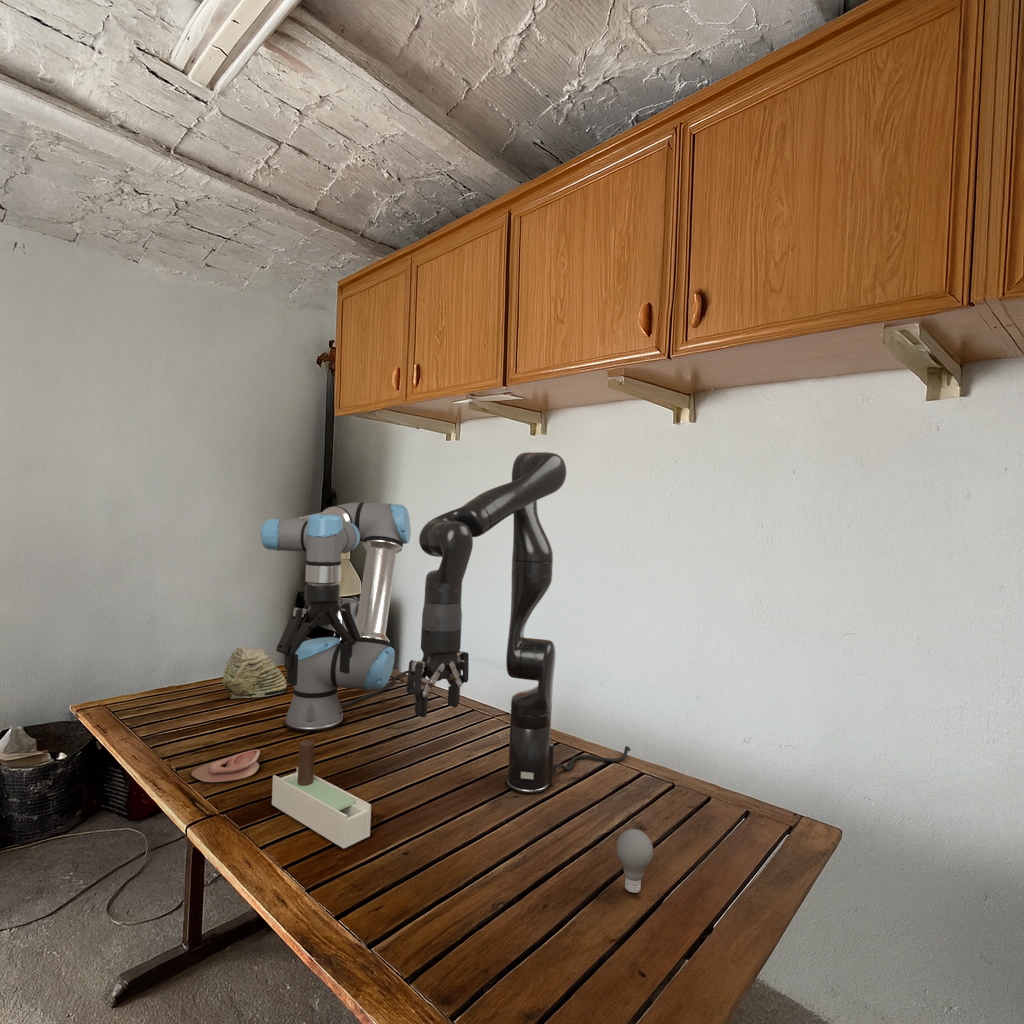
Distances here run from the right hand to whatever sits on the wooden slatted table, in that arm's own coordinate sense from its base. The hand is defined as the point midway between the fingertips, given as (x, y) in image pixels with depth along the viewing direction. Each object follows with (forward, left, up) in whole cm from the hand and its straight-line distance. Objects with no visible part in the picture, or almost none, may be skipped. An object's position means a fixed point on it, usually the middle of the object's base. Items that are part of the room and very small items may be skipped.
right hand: (437, 711), depth 120 cm
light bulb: (-23, +31, -24) cm, 45 cm away
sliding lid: (+17, -15, -19) cm, 30 cm away
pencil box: (+17, -15, -24) cm, 33 cm away
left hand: (+14, -34, -1) cm, 36 cm away
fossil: (+16, -100, -24) cm, 104 cm away
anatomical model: (+31, -45, -24) cm, 59 cm away
